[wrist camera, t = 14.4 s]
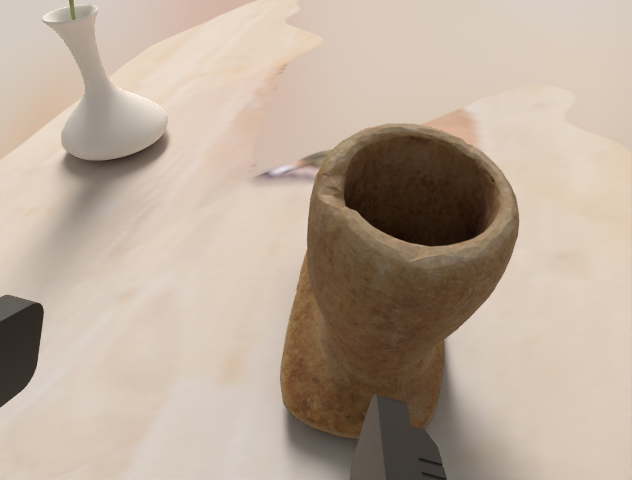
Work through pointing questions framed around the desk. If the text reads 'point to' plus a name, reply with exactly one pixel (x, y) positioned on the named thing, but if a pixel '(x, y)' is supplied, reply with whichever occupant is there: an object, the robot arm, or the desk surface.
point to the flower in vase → (102, 97)
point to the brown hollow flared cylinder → (392, 272)
